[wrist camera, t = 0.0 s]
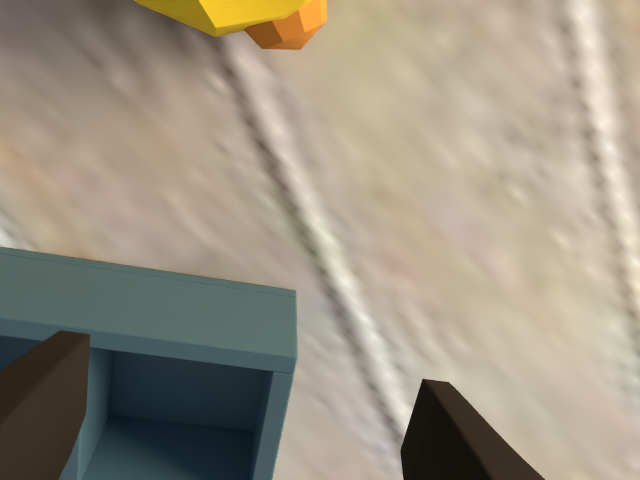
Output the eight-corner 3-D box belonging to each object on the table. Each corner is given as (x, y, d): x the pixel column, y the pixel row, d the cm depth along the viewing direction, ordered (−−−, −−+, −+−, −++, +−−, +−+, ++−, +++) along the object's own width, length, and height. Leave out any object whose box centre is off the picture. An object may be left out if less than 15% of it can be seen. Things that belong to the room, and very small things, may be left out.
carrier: (246, 544, 28) (238, 641, 24) (-61, 514, 27) (-126, 612, 23) (296, 289, 23) (297, 356, 19) (-80, 234, 22) (-170, 293, 17)
